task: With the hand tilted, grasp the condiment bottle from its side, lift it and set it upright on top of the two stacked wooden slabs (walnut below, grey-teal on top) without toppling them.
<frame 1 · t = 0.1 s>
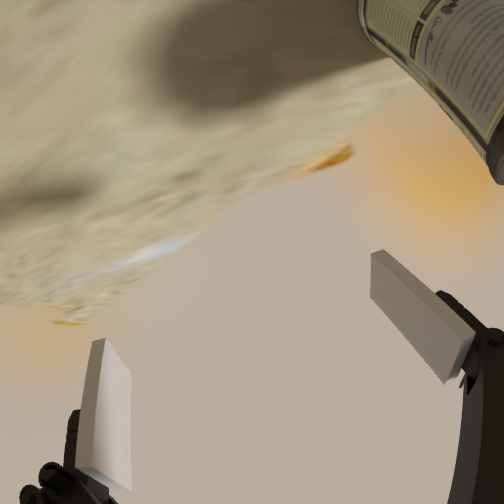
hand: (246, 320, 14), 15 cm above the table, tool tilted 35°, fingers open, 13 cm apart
coffee can: (409, 2, 15), on the table
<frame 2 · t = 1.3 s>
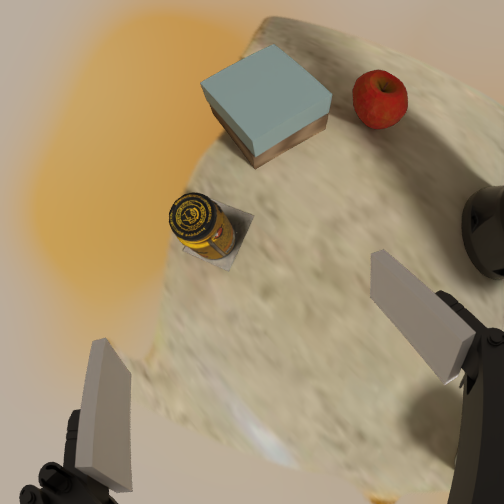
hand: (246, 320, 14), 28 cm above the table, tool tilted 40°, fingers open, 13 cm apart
apple: (369, 122, 45), on the table
tower top: (266, 104, 42), point 4 cm above the table, touching tower base
condiment: (218, 234, 44), on the table
tower base: (267, 120, 47), on the table, touching tower top
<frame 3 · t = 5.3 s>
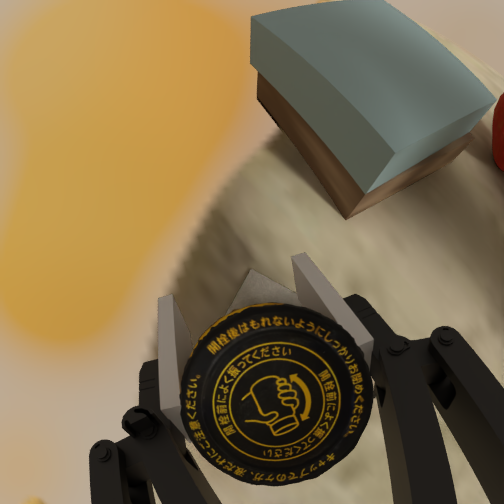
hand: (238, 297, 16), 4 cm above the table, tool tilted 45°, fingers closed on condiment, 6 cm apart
apple: (496, 162, 24), on the table
tower top: (370, 91, 20), point 4 cm above the table, touching tower base
condiment: (269, 354, 19), on the table, touching gripper
tower base: (359, 128, 24), on the table, touching tower top
when the fingers open (14 cm above the table, at t = 10.1 s): condiment drops 2 cm, resting on tower top.
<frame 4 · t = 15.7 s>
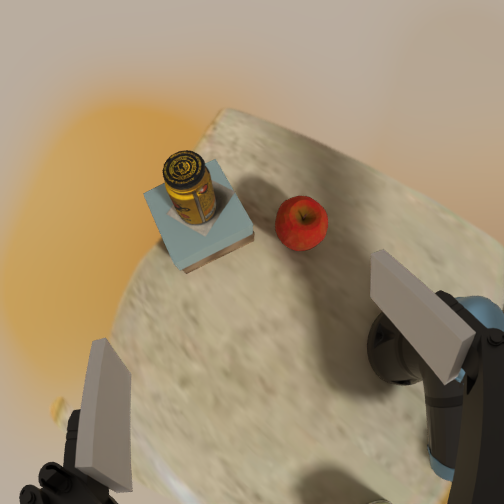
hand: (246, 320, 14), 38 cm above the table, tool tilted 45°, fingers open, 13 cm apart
apple: (295, 236, 55), on the table
tower top: (199, 218, 51), point 4 cm above the table, touching condiment, tower base
condiment: (201, 203, 47), point 8 cm above the table, touching tower top
tower base: (204, 226, 56), on the table, touching tower top
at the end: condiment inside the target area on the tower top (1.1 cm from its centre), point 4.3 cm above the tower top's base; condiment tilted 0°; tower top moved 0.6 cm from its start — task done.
